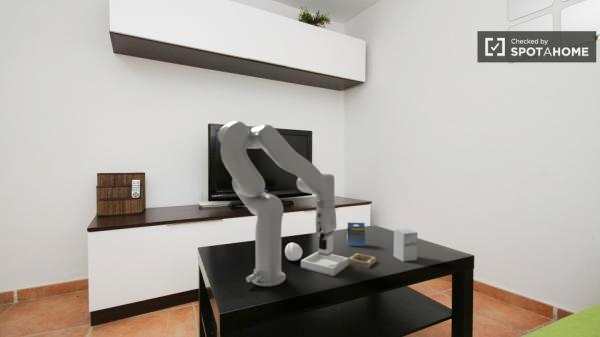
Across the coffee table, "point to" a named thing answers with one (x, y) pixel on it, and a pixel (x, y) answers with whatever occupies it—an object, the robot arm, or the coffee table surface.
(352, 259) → the tan wooden flat frame
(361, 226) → the label tape cartridge
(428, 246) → the coffee table surface
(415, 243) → the supplement box
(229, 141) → the robot arm
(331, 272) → the parts tray
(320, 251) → the grey white rectangular block
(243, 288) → the coffee table surface
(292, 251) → the white grooved ball
